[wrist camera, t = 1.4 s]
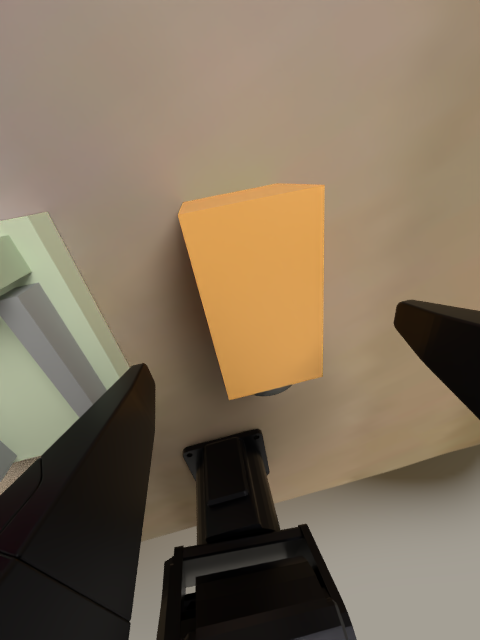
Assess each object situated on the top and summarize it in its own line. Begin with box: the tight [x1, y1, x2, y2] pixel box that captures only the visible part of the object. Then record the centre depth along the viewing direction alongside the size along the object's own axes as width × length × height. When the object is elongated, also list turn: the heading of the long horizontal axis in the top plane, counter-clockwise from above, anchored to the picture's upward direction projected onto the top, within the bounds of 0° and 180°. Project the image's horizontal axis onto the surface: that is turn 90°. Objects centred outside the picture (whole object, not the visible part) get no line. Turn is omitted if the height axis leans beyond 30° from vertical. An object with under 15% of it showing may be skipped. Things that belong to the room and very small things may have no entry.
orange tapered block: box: [178, 184, 324, 400], centre depth 12 cm, size 9×4×5 cm, turn 10°
